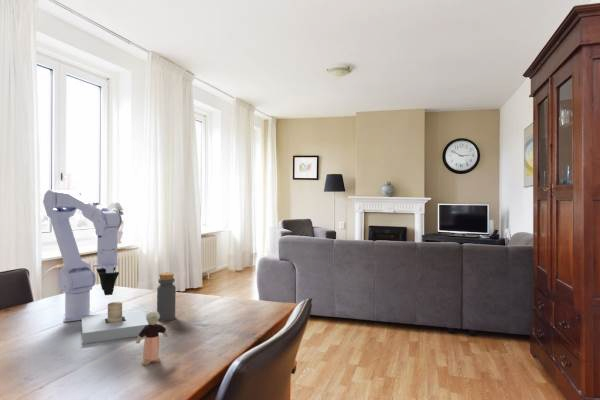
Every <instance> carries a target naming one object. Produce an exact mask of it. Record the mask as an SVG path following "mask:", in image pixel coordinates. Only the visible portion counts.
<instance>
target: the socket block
mask: <svg viewBox="0 0 600 400" xmlns="http://www.w3.org/2000/svg"><path fill="white" fill-rule="evenodd" d="M146 315H147V313H145V311H144V309H143V308H142V309H141V308H140V309H133V310H122V322H116V323H108V312H106V313H97V314H91V315H87V316H81V320H80V321H81V323H80V324H81V325H80V326H81V341H82V343H81V344H82V345H85V344H91V343H99V342H100V343H101V342H106V341H113V340H120V339H126V338H133V337H138V336H139V333H140V332H141V331H142V329H143V328H144V327H145V326H146V325H149V324H148V322H147V320H146Z"/></svg>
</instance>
